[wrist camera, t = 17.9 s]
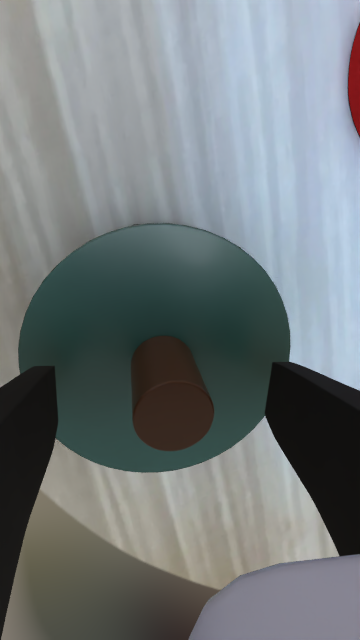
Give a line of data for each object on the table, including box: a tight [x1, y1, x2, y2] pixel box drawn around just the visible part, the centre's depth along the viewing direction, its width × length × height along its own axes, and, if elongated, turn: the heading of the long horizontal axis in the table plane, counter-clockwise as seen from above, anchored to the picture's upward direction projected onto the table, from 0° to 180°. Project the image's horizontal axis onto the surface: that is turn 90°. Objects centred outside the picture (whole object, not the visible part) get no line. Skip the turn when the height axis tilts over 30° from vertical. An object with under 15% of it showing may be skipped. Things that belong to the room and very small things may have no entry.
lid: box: [18, 223, 290, 473], centre depth 12 cm, size 10×10×4 cm
